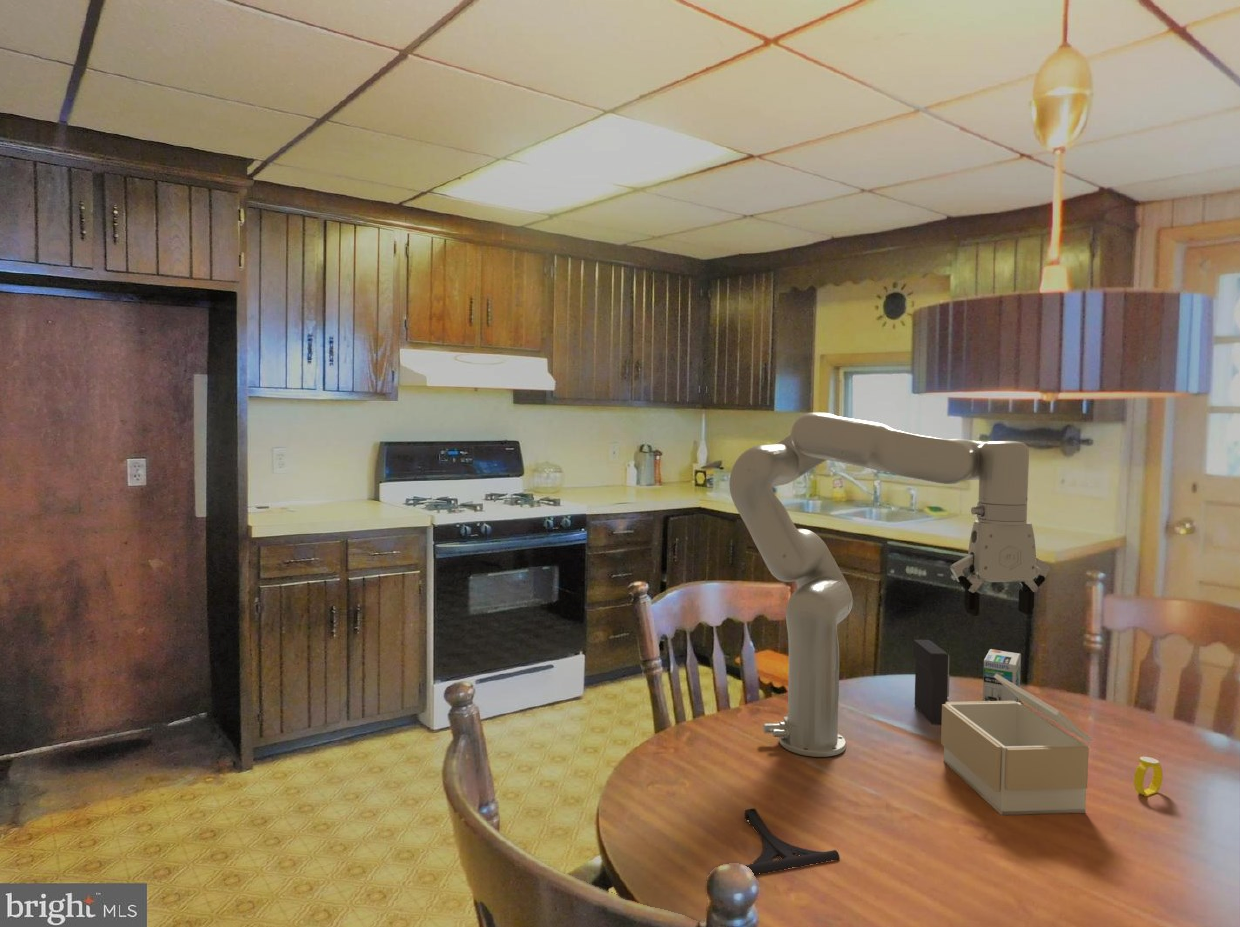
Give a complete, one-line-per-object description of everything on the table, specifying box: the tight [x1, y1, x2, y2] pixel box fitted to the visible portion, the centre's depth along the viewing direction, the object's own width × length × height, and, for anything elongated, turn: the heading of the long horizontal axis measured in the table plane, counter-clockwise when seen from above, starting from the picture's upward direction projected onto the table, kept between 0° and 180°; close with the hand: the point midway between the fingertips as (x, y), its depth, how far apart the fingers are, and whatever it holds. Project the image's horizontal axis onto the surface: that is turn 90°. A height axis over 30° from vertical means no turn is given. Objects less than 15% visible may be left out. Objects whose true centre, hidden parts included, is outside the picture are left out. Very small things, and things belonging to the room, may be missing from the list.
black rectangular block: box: [912, 639, 951, 725], centre depth 172 cm, size 11×4×15 cm, turn 179°
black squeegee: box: [743, 807, 841, 876], centre depth 120 cm, size 14×15×3 cm
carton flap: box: [994, 673, 1093, 744], centre depth 139 cm, size 7×19×1 cm
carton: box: [940, 700, 1090, 816], centre depth 139 cm, size 15×22×11 cm
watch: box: [1133, 756, 1163, 797], centre depth 137 cm, size 6×3×6 cm, turn 118°
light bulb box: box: [982, 648, 1022, 703], centre depth 179 cm, size 11×7×11 cm, turn 149°
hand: (998, 613), depth 138 cm, fingers open, 9 cm apart
